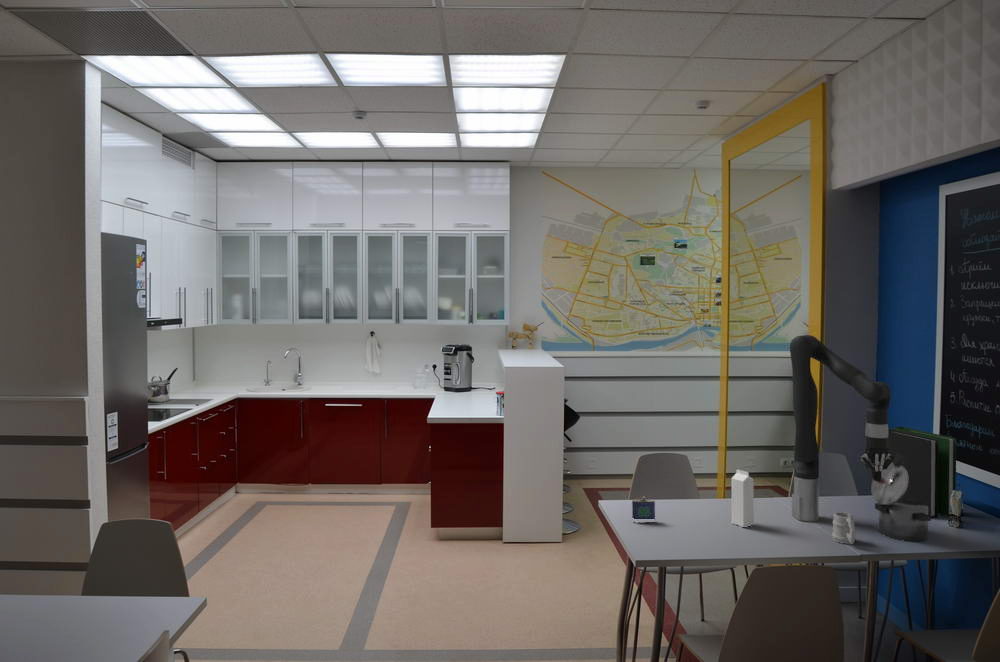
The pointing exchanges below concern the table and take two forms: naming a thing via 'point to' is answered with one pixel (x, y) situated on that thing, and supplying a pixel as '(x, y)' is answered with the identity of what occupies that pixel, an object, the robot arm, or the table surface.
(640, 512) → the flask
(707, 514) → the table surface
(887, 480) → the lid
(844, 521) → the mug
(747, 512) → the milk
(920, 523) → the pot
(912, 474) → the binder
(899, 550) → the table surface
